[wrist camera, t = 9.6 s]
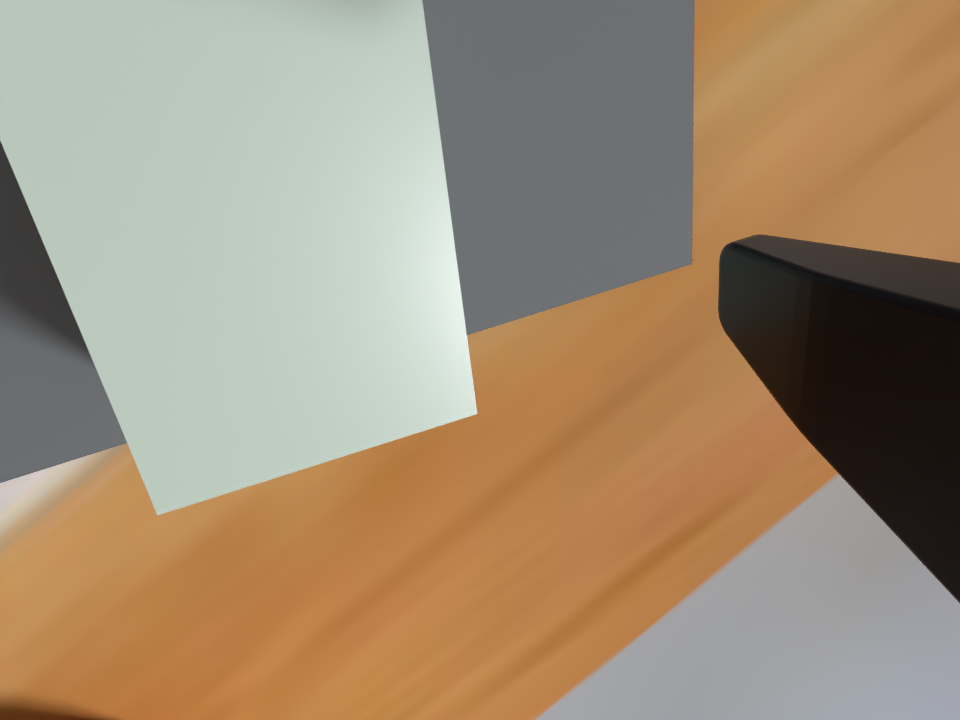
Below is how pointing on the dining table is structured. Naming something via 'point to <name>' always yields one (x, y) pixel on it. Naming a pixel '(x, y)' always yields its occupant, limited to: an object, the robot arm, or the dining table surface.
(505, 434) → the dining table surface
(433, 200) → the card case
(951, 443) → the robot arm
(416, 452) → the dining table surface
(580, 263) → the rubber mat
